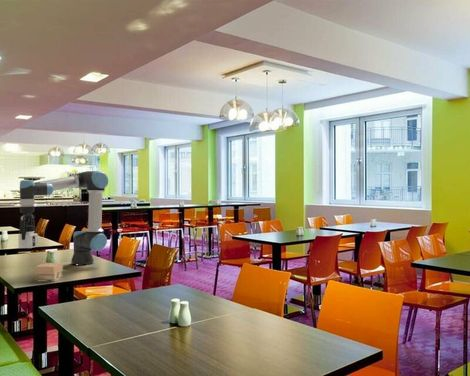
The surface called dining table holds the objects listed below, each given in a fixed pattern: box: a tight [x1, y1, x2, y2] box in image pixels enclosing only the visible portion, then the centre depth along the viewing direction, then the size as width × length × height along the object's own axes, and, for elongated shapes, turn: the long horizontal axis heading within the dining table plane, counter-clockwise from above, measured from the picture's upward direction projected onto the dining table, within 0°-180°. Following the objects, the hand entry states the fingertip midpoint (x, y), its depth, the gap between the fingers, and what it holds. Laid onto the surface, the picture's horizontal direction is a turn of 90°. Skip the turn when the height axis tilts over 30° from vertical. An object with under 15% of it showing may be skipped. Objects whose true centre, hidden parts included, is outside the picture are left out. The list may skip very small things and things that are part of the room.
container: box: [18, 224, 39, 249], centre depth 263 cm, size 8×8×13 cm
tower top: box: [34, 262, 64, 274], centre depth 260 cm, size 11×11×4 cm
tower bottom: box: [34, 270, 63, 280], centre depth 260 cm, size 11×11×4 cm
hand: (27, 244), depth 263 cm, fingers closed on container, 8 cm apart
